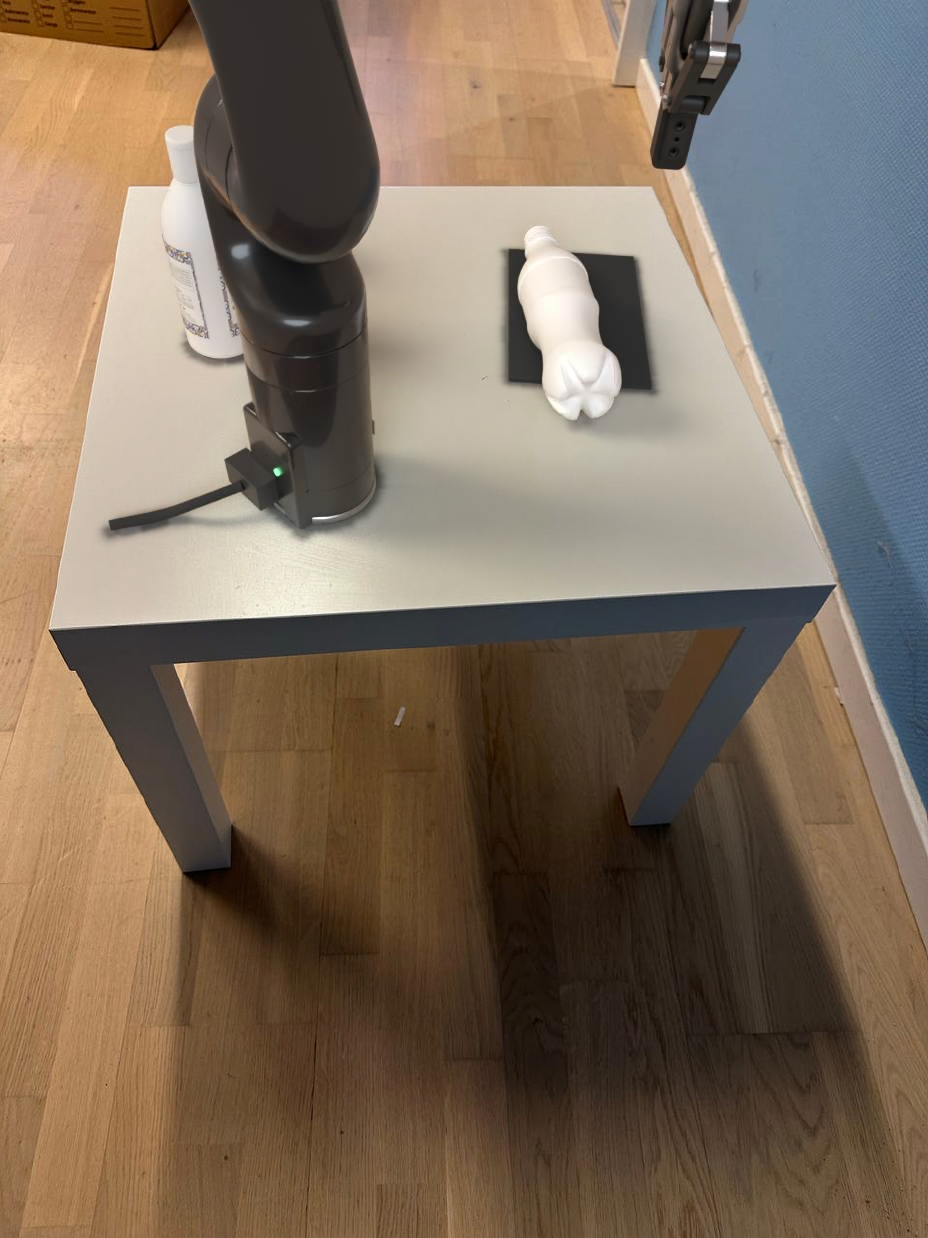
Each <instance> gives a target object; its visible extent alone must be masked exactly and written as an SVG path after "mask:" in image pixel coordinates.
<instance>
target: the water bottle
mask: <svg viewBox="0 0 928 1238" xmlns="http://www.w3.org/2000/svg"><path fill="white" fill-rule="evenodd" d="M523 238H524V240H523V244H524V250H525V257H526V259H527V261H526V262H525V264H524V266H523V268H522V270H521V273H520V276H519V279H518V297H519V301H520V303H521V305H522V307H523V310H524V314H525V318H526V321H527V331H528V334H529V336H530V338H531V340H532V342H533V343H534V344H535V346H536V347H537V348H538V349H539V350H541V351H542V356H543V376H542V383H541V385H542V389H543V392H544V395H545V397H546V399H547V402H548V403H549V405H550V406H551V407H552V408H553V410H555V412H556V413H557V414H559V415H560V416H561V417H562V418H564V419H567V420H569V421H577V419H578V418H579V416H580V413H581V411H582V412H583V413H584V415H586V416H587V417H588V418H589V419H597V418H600V417H602V416H604V415H605V414H606V413H608V411H609V410H610V409H611V408H612V406H613V403H614V401H615V400H614V399H615V397H617V396H618V395H619V393H620V390H621V389H622V388H621V370H620V366H619V362H618V360H617V358H616V356H615V355H614V354H613V353H612V352H611V351H610V350H609V349H607V348H606V347H605V346H604V345H603V343H602V341H601V338H600V334H599V327H598V318H599V305H598V303H597V300H596V299H595V297H594V295H593V292H592V289H591V286H590V284H589V281H588V280H589V279H588V274H587V272H586V269H585V267H584V266H583V264H582V263H581V261H580V260H579V259H578V258H577V257H576V256H574V255H573V254H572V253H573V252H570V251H568V250H567V249H563V248H561V247H559V242H558V241H557V240H556V238H555V237H554V236H553V233H552V232H551V230H550V228H549V227H548V226H545V225H541V224H540V225H535V226H533V227H531V228H529V229H528V230H527V232H526V233H525V236H524V237H523Z"/></svg>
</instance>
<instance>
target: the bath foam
mask: <svg viewBox="0 0 928 1238" xmlns="http://www.w3.org/2000/svg"><path fill="white" fill-rule="evenodd" d="M193 127H194V126H192V125H187V124H186V125H185V124H184V125H176V126H175V125H174V126H172V127H170V128H168V129H167V130H166V131H165V133H164V140H165V141H164V142H165V145H166V150H167V151H166V152H167V155H168V159H169V163H170V168H171V172H172V176H173V178H172V180H171V182H170V183H169V186H168V189H167V190H166V193H165V195H164V199H163V202H162V205H161V211H160V228H161V236H162V241H163V244H164V250H165V253H166V257H167V262H168V265H169V269H170V273H171V277H172V282H173V286H174V289H175V293H176V298H177V302H178V306H179V311H180V315H181V318H182V323H183V325H184V330H185V334H186V338H187V341H188V343H189V345H190V347H191V348H192V349H193V350H194V351H195V352H196V353H198V354H200V355H202V356H204V357H208V358H212V359H230V358H235V357H238V356H241V355H244V354H243V349H242V343H241V338H240V333H239V327H238V322H237V317H236V312H235V308H234V305H233V302H232V299H231V297H230V294H229V292H228V289H227V287H226V285H225V282H224V280H223V277H222V275H221V272H220V269H219V265H218V262H217V258H216V254H215V250H214V245H213V241H212V237H211V232H210V228H209V224H208V219H207V215H206V210H205V206H204V201H203V197H202V192H201V188H200V183H199V178H198V173H197V168H196V161H195V154H194V144H193Z"/></svg>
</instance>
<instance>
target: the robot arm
mask: <svg viewBox="0 0 928 1238" xmlns="http://www.w3.org/2000/svg"><path fill="white" fill-rule="evenodd" d="M187 1H188V3H189V6H190V8H191V10H192V12H193V15H194V17H195V19H196V21H197V24H198V27H199V30H200V32H201V34H202V37H203V40H204V44H205V45H206V48H207V52H208V55H209V58H210V61H211V64H212V68H213V72H214V73H213V74H212V75H211V76H210V78H209V80H208V81H207V82H206V84H205V86H204V87H203V90H202V92H201V94H200V96H199V99H198V102H197V105H196V108H195V113H194V119H193V126H192V127H193V144H194V154H195V161H196V168H197V173H198V178H199V183H200V188H201V192H202V197H203V201H204V206H205V210H206V215H207V219H208V224H209V228H210V232H211V237H212V241H213V245H214V250H215V254H216V258H217V262H218V265H219V269H220V272H221V275H222V277H223V280H224V282H225V285H226V287H227V289H228V292H229V294H230V297H231V299H232V302H233V305H234V308H235V312H236V317H237V322H238V327H239V333H240V338H241V343H242V349H243V354H242V355H243V360H244V365H245V371H246V376H247V382H248V387H249V393H250V397H251V401H249V402H247V403H245V404H244V405H243V406H242V412H243V417H244V423H245V429H246V432H247V437H248V442H249V448H250V449H249V448H248V447H247V446H245V447H244V448H242V449H241V450H239V451H237V452H235V453H233V454H231V455H230V456H228V457H226V458H224V460H223V461H224V465H225V470H226V473H227V478H228V482H229V483H230V484H228V485H224V486H222V487H220V488H216V489H215V490H211V491H209V492H207V493H204V494H201V495H198V496H196V497H193V498H191V499H188V500H185V501H182V502H180V503H177V504H174V505H172V506H167V507H164V508H161V509H156V510H153V511H148V512H142V513H139V514H138V513H137V514H133V515H128V516H122V517H118V518H113V519H108V526H109V528H110V531H116V530H121V529H122V530H123V529H128V528H131V527H136V526H142V525H147V524H152V523H156V522H160V521H163V520H168V519H172V518H174V517H178V516H181V515H184V514H187V513H189V512H191V511H194V510H197V509H200V508H202V507H205V506H207V505H210V504H213V503H216V502H218V501H220V500H223V499H226V498H228V497H231V496H233V495H236V494H239V493H241V494H242V495H243V497H245V498H246V499H247V500H248V501H249V502H251V504H252V505H253V506H255V508H257V509H258V511H260V512H262V511H264V510H265V509H267V508H269V507H271V506H272V505H273V506H274V507H275V508H276V509H277V510H278V511H279V512H281V513H282V514H283V515H284V516H286V517H287V518H288V519H289V520H290V521H291V522H292V523H293V524H294V525H295V526H296V527H297V528H298V529H300V530H303V529H306V528H308V527H309V526H311V525H316V524H317V525H318V524H319V525H323V524H332V523H337V522H340V521H341V522H342V521H344V520H346V519H349V518H351V517H353V516H355V515H356V514H359V512H362V510H363V509H365V507H367V505H369V503H370V502H371V501H372V498H373V497H374V495H375V492H376V487H377V474H376V473H377V472H376V468H375V452H374V451H375V450H374V436H375V435H376V427H375V420H373V412H372V391H371V390H372V388H371V368H370V365H371V364H370V346H369V345H370V342H369V321H368V319H369V318H368V300H367V288H366V282H365V279H364V276H363V273H362V271H361V269H360V267H359V266H360V265H358V262H357V260H356V258H355V256H354V253H353V250H354V248H356V247H357V246H358V245H359V243H360V242H361V241H362V239H363V238H364V236H366V234H367V232H368V230H369V228H370V226H371V223H372V221H373V219H374V218H375V213H376V210H377V207H378V204H379V199H380V198H379V197H380V190H381V162H380V156H379V155H380V154H379V151H378V150H379V149H378V145H377V141H376V136H375V133H374V130H373V125H372V122H371V119H370V115H369V112H368V109H367V105H366V101H365V97H364V95H363V91H362V88H361V84H360V81H359V77H358V73H357V69H356V66H355V63H354V58H353V53H352V51H351V47H350V43H349V40H348V35H347V32H346V28H345V23H344V20H343V15H342V11H341V7H340V3H339V0H187ZM748 3H749V0H666V2H665V10H664V11H665V12H664V21H663V31H662V34H661V39H660V45H661V49H660V56H659V58H658V62H657V63H658V67H659V73H662V75H661V79H660V80H659V84H658V90H659V97H661V98H660V103H659V106H658V112H657V116H656V121H655V125H654V130H653V134H652V139H651V143H650V146H649V147H650V148H649V155H650V161H651V165H652V167H653V168H654V169H657V170H669V171H670V170H671V171H679V170H682V169H683V168H684V167H685V166H686V163H687V160H688V156H689V153H690V149H691V145H692V140H693V136H694V133H695V128H696V124H697V120H698V117H699V115H701V116H710V115H711V113H712V112H713V109H714V108H715V106H716V104H717V103H718V101H719V99H720V98H721V96H722V94H723V92H724V90H725V89H726V87H727V86H728V83H730V80H731V78H732V76H733V75H734V73H735V71H736V70H737V68H738V66H739V63H740V61H741V59H742V51H741V50H742V48H741V47H742V46H741V43H733V40H734V36H735V33H736V30H737V27H738V26H739V25H740V24H741V23H742V21H743V19H744V17H745V13H746V11H747V6H748Z"/></svg>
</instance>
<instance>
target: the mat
mask: <svg viewBox="0 0 928 1238" xmlns="http://www.w3.org/2000/svg"><path fill="white" fill-rule="evenodd" d="M571 253H572V254H573V255H574V256H576V257H577V258H578V259H579V260H580V261H581V263H582V264H583V266H584V267H585V269H586V272H587V274H588V279H589V280H588V281H589V284H590V286H591V289H592V292H593V295H594V297H595V299H596V300H597V303H598V305H599V318H598V327H599V334H600V338H601V341H602V343H603V345H604V346H605V347H606V348H607V349H609V350H610V351H611V352H612V353H613V354H614V355H615V356H616V358H617V360H618V362H619V366H620V370H621V388H620V389H633V390H634V389H636V390H652V388H653V385H652V378H651V370H650V364H649V357H648V356H649V355H648V349H647V343H646V335H645V329H644V321H643V313H642V307H641V300H640V299H641V298H640V292H639V285H638V278H637V272H636V264H635V257H634V256H632V255H617V254H616V255H615V254H602V253H601V254H600V253H583V252H571ZM526 261H527V259H526V257H525V249H521V248H508V382H516V383H517V382H518V383H531V384H533V383H534V384H542V376H543V356H542V351H541V350H539V349H538V348H537V347H536V346H535V344H534V343H533V342H532V340H531V338H530V336H529V334H528V331H527V321H526V318H525V314H524V310H523V307H522V305H521V303H520V301H519V297H518V279H519V276H520V273H521V270H522V268H523V266H524V264H525V262H526Z"/></svg>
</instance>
